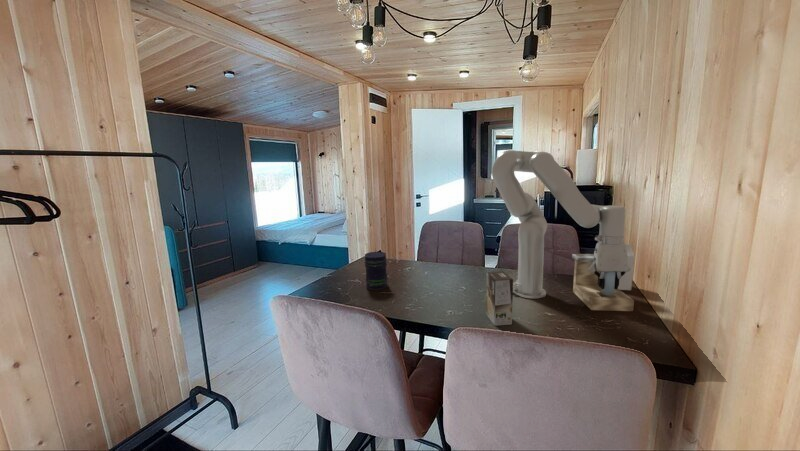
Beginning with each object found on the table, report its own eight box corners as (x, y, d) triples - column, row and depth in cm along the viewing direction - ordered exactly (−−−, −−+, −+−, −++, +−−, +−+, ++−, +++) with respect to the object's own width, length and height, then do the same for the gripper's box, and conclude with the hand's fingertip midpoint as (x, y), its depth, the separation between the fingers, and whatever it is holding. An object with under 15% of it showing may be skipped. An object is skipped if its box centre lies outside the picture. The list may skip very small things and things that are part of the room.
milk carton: (631, 290, 137) (635, 246, 133) (612, 290, 138) (615, 245, 135) (623, 284, 143) (627, 242, 140) (605, 284, 145) (608, 241, 142)
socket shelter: (588, 309, 120) (591, 267, 118) (570, 290, 138) (572, 254, 136) (636, 311, 118) (640, 268, 115) (611, 291, 136) (614, 254, 133)
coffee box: (512, 324, 111) (514, 279, 109) (494, 326, 111) (495, 280, 108) (502, 313, 120) (503, 270, 118) (485, 314, 120) (485, 271, 117)
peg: (604, 295, 121) (605, 269, 120) (599, 291, 125) (601, 266, 124) (616, 295, 121) (617, 269, 119) (610, 291, 125) (612, 266, 123)
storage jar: (389, 282, 157) (387, 251, 154) (386, 289, 147) (384, 257, 144) (368, 282, 158) (366, 251, 155) (364, 289, 148) (362, 257, 145)
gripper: (590, 242, 117) (587, 291, 120) (642, 241, 115) (638, 292, 118) (582, 238, 125) (579, 284, 128) (630, 237, 122) (627, 284, 125)
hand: (607, 287), depth 123 cm, fingers closed on peg, 4 cm apart
